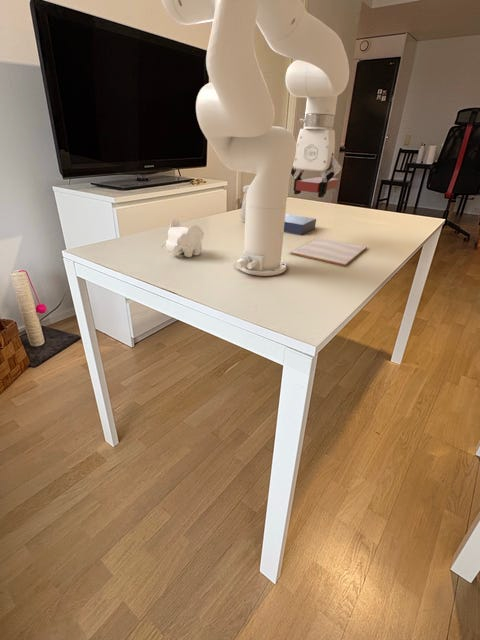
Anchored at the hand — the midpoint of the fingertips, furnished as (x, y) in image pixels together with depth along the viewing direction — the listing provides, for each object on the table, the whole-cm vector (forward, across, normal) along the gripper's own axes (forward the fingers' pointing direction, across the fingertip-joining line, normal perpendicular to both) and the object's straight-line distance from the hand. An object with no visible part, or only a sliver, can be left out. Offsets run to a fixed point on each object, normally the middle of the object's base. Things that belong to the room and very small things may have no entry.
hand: (309, 194), depth 98 cm
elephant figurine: (+16, -24, -28) cm, 40 cm away
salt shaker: (+15, -30, +18) cm, 38 cm away
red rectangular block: (-1, 0, +6) cm, 7 cm away
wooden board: (+15, +8, +1) cm, 17 cm away
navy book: (+15, -14, +19) cm, 28 cm away
